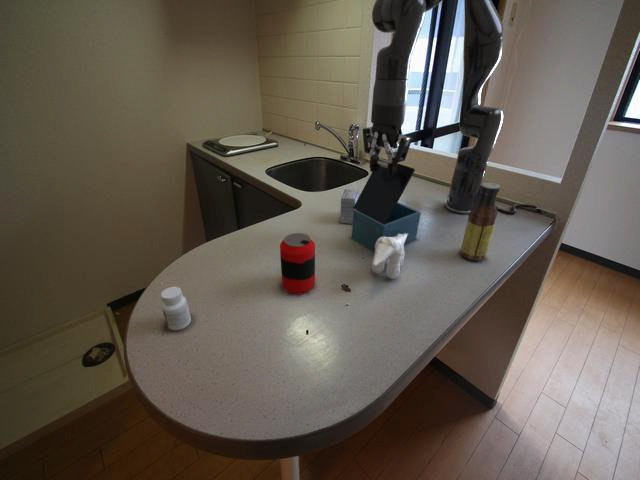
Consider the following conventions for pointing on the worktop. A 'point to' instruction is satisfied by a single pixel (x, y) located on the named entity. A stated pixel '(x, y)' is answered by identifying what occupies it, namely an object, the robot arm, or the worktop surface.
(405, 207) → the blue box
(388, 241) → the dinosaur statue
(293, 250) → the soda can
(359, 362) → the worktop surface
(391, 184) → the black box lid
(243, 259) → the worktop surface
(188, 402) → the worktop surface
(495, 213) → the sauce bottle
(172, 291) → the pill bottle
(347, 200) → the medicine box
